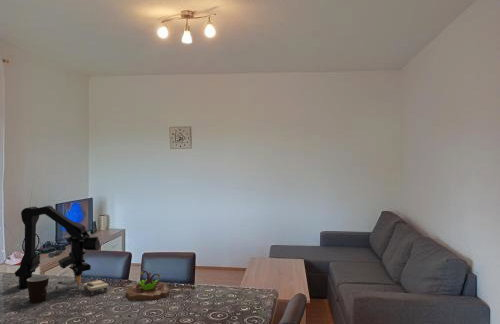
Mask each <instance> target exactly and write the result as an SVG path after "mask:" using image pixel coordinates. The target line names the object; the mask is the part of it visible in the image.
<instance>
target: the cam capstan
mask: <svg viewBox="0 0 500 324" xmlns="http://www.w3.org/2000/svg"><path fill="white" fill-rule="evenodd" d="M81 283H82V274H81V275H77V276H76V280H75V279H72V280H69V281H68V280H67V281H66V280H60V281H59V280H58V281H55V282H53V283H52V292H53V293H62V292H65V291H67V290H68V288H70V287H75V286H80V285H81Z"/></svg>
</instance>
